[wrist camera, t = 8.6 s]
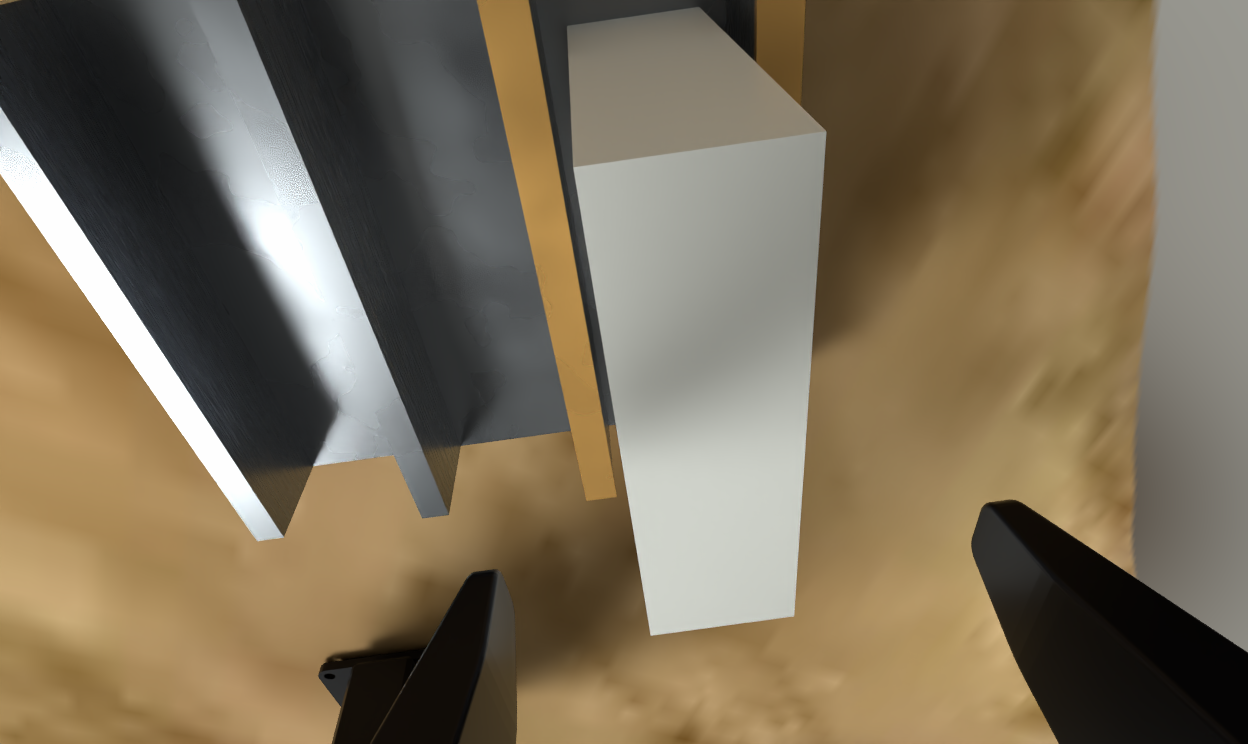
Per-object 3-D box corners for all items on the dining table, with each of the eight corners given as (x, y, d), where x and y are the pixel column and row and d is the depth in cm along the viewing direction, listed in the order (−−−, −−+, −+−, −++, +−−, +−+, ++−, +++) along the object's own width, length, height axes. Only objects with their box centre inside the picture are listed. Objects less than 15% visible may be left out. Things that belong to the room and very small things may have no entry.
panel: (714, 361, 21) (793, 616, 14) (619, 375, 21) (650, 635, 14) (698, 6, 15) (826, 131, 8) (567, 26, 15) (573, 167, 8)
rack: (753, 385, 23) (786, 473, 20) (296, 449, 23) (251, 547, 20) (755, -111, 15) (813, -106, 11) (35, -8, 15) (-119, 28, 11)
